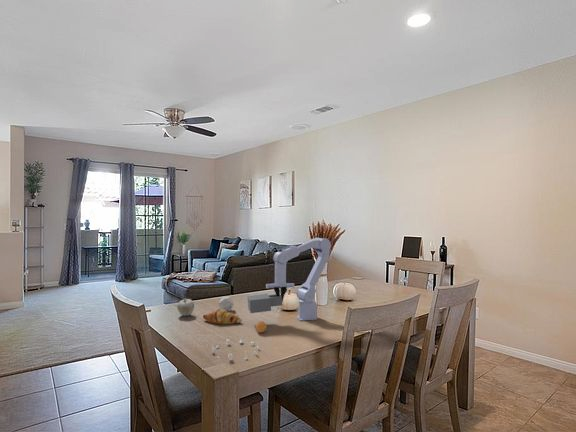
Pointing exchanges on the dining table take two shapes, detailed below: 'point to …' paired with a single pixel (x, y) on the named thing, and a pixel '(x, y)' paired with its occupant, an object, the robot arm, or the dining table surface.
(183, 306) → the decorative object
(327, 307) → the dining table surface
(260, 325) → the egg
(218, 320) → the croissant
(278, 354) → the dining table surface
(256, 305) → the grey stepped block
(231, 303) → the die
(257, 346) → the game piece set
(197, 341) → the dining table surface
